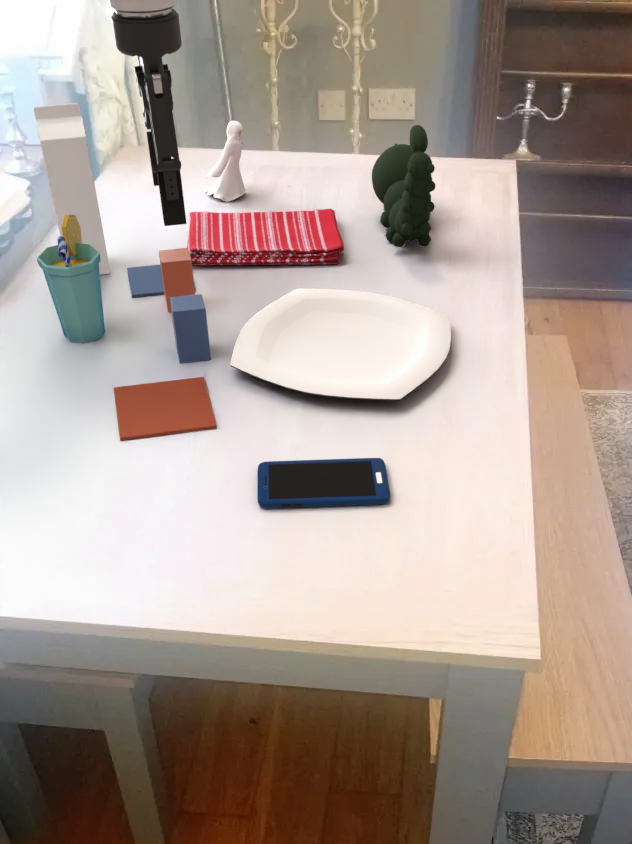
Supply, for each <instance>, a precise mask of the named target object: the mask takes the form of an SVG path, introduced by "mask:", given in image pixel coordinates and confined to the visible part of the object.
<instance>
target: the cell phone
mask: <svg viewBox="0 0 632 844" xmlns="http://www.w3.org/2000/svg"><path fill="white" fill-rule="evenodd" d="M256 476H257V477H256V478H257V479H256V480H257V484H256V485H257V489H256V490H257V491H256V493H257V497H256V499H257V504H258V505H259V507H260V508H264V509H287V508H289V509H290V508H314V507H318V508H319V507H340V506H343V507H344V506H367V505H368V506H369V505H370V506H371V505H384V504H388V503H389V502H390V500H391V491H390V489H391V488H390V484H389V478H388V472H387V467H386V463H385V461H384V459H382V458H381V457H361V458H360V457H359V458H358V457H357V458H356V457H355V458H329V459H328V458H327V459H300V460H299V459H298V460H297V459H296V460H273V461H272V460H271V461H262V462H260V463H259V464H258V465H257V475H256Z"/></svg>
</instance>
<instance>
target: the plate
mask: <svg viewBox="0 0 632 844" xmlns="http://www.w3.org/2000/svg"><path fill="white" fill-rule="evenodd" d="M243 325H244V326H243V327H242V328H241V329H240V331H239V334H238V335H237V337H236V340H235V343H234V347H233V350H232V354H231V359H230V363H229V366H230V367H231V368H233V369H236V370H238V371H239V372H242V373H244V374H247V375H250V376H251V377H254V378H257V379H260V380H262V381H265V382H266V383H269V384H270V383H271V384H272V385H276V386H278V387H282V388H285V389H288V390H292V391H295V392H299V393H303V394H307V395H313V396H314V395H315V396H320V397H328V398H337V399H339V398H340V399H350V400H367V401H401V400H402V399H404V398H405V397H406V396H408V395H409V394H411V393H412V392H413V391H415V390H416V389H417V388H418V387H420V386H422V384H424V383H425V382H426V381H427V380H429V379H430V378H431V377H432V376H433V375H434V374H435V373H436V372H437V371H438V370H439V369H440V367H441V366H442V365H443V363H444V362H445V361H446V359H447V357H448V353H449V352H450V348H451V341H452V330H451V319H450V315H449V314H448V313H445V312H443V311H439V310H436V309H434V308H430V307H427V306H424V305H421V304H418V303H415V302H411V301H409V300H404V299H401V298H398V297H394V296H390V295H385V294H381V293H378V292H368V291H360V290H350V289H336V288H334V289H333V288H332V289H331V288H308V287H307V288H304V287H303V288H302V287H298V288H295V289H293V290H291V291H289V292H288V293H286V294H284V295H282V296H281V297H279V298H277V299H275V300H274V301H272V302H271V303H268V304H267V305H266V306H264V307H262V309H260V310H259V311H257V312H256V313H255V314H254V315H252V317H250V318H249V319H248V320H247V321H246V323H245V324H243Z"/></svg>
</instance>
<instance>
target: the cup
mask: <svg viewBox="0 0 632 844" xmlns="http://www.w3.org/2000/svg"><path fill="white" fill-rule="evenodd" d="M62 234H63V236H60V235H59V236H57V244H56V245H52V246H48V247H46V248H45V249H44V250H43V251H42V252H41V253H40V254H39V255H38V256H37V257H36V261H37V264H38V266H39V268H40V269H41V270H42V272H43V275H44V279H45V281H46V285H47V287H48V290H49V293H50V294H49V295H50V296H51V299H52V302H53V303H52V304H53V306H54V309H55V312H56V315H57V318H58V321H59V323H60V328H61V330H62V333H63V336H64V337H65V338H66V339H67V340H68V341H69V342H71V343H78V344H79V343H80V344H87V343H90V342H93V341H97V340H100V339H101V338H102V336H103V335H104V334H105V332H106V328H105V326H106V325H105V316H104V306H103V296H102V295H103V294H102V286H101V275H100V272H99V262H100V253H99V252H98V251H97V250H96V249H94V248H93V247H92V246H91V245H89V244H82V238H81V229H80V225H79V223H78V221H77V218H76V216H75V215H65V216H64V220H63V224H62Z"/></svg>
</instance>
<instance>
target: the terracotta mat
mask: <svg viewBox="0 0 632 844" xmlns="http://www.w3.org/2000/svg"><path fill="white" fill-rule="evenodd" d="M206 383H207V382H206V380H205V377H204V376H197V377H190V378H189V377H188V378H182V379H172V380H164V381H156V382H147V383H140V384H139V383H138V384H130V385H122V386H114V387H113V393H114V401H115V410H116V418H117V425H118V433H119V439H120V440H119V441H128V440H135V439H137V440H138V439H143V438H150V437H158V436H159V437H160V436H166V435H174V434H182V433H190V432H197V431H205V430H212V429H213V430H214V429H217V427H218V426H217V422H216V418H215V415H214V410H213V407H212V403H211V400H210V399H211V398H210V394H209V391H208V388H207V384H206Z"/></svg>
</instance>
